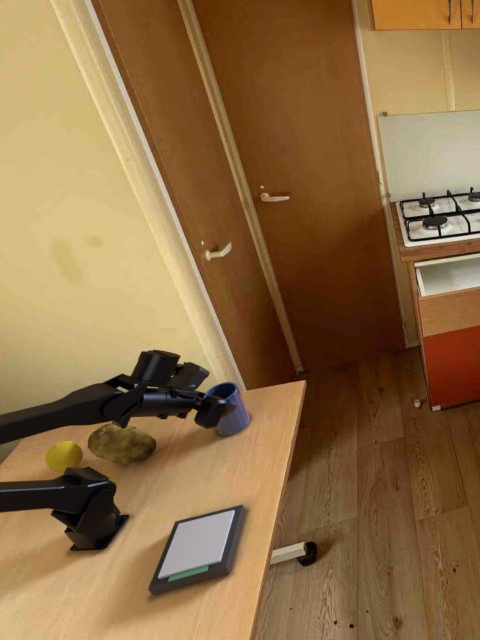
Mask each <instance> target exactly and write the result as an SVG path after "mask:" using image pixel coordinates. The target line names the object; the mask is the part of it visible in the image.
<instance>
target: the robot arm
mask: <svg viewBox="0 0 480 640" xmlns="http://www.w3.org/2000/svg"><path fill="white" fill-rule="evenodd" d="M181 357H182V356H181V355H180V354H178V353H175V352H171V351H166V350H161V349H153V350H152V349H148V350H146V351H145V350H142V351H141V352H140V354H139V356H138V359H137V362H136V364H135V366H134V368H133V370H132V372H131V374H130V375H129V374H125V373H120V374H118V375H115V376H114V377H111V378H109V379H107V380H104V381H102V382H97V383H92V384H90V385H87V386H84V387H81V388H79V389H76V390H73V391H71V392H69V393H68V394H66V395H65V396H63V397H62V398H60V399H57V400H54V401H50V402H47V403H42V404H40V405H39V404H38V405H35V406H31V407H27V408H22V409H18V410H14V411H11V412H5V413H2V414H0V446H2V445H6V444H9V443H12V442H16V441H20V440H23V439H25V438H29V437H30V438H31V437H33V436H36V435H40V434H44V433H47V432H51V431H54V430H57V429H61V428H65V427H73V426H92V425H93V426H94V425H98V424H105V423H110V422H111V423H112V424H114V425H116V426H118V427H120V428H122V429H125V428H126V427H127V425H129V423H130V421H131V419H132V418H150V417H153V418H155V417H156V418H158V419H159V420H168V417H176V418H178V419H181V420H185V419H187V416H188V414H189V413H191V412H192V411H193V410H195V411H197V412H196V414H195V416H194V418H193V421H194V423H195V425H197V426H199V427H201V428H203V429H205V430H208V429H209V430H212V429H216V427H217V425H218V423H219V420H220V419H221V418H223V417H225V416H226V415H228V414H230V413H231V412H233V411H235V409H236V407H237V406H236V405H232V404H227V401H226V400H225V399H223V398H221V397H219V396H212V395H208V396H207V397H206V398H204V395H205V393H206V392H202V391H200V390H197V389H198V388H199V387H200V386H201V385H202V384H203V383H204V381H205V380H206V379H207V378H209V376H210V374H211V372H210V371H209V370H208V369H206V368H204V367H203V366H201V365H199V364H196V363H194V362H191V361H187V362H186V361H184V362H182V363H179V361H180V359H181ZM118 388H121V389H124V390H126V391H123V390H121V389H118ZM203 398H204V399H203ZM117 486H118V485H117V483H116V482H114V481H113V480H111V479H110V477H109V476H107V475H105V474H104V473H102V472H100V471H98V470H96V469H95V468H93V467H91V466H90V465H86V466H84V467H79V468H78V467H75V468H72V467H67V468H66V470H65V472H63V474H62V475H60V476H58V477H55V478H53V479H43V480H42V479H40V480H15V481H0V514H1V513H13V512H26V511H36V510H51V512H50V513H49V514H50V517H52V518H54V519H55V520H57V521H59V522H61V524H63V525H65V526H66V528H65V529H64V531H63V533H64V534H65V535H66V536H67V537H68V539H69V540H70V541H71V542H72V543H73V544H72V545H71V547H70V548H69V551H70V552H72V553H73V552H90V551H91V552H92V551H93V552H94V551H105V550H106V549H107V548H108V547H109V546H110V544H111V543H112V541H113V540H114V539H115V538H116V536H117V534H118V533H119V532H120V530H121V529H122V528H123V527H124V526H125V524H126V523H127V521H128V520H129V518H130V515H129V514H122V512H121V510H120V508H119V507H118V506H117V505H116V503H115V496H116V494H117V489H118V487H117Z"/></svg>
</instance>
